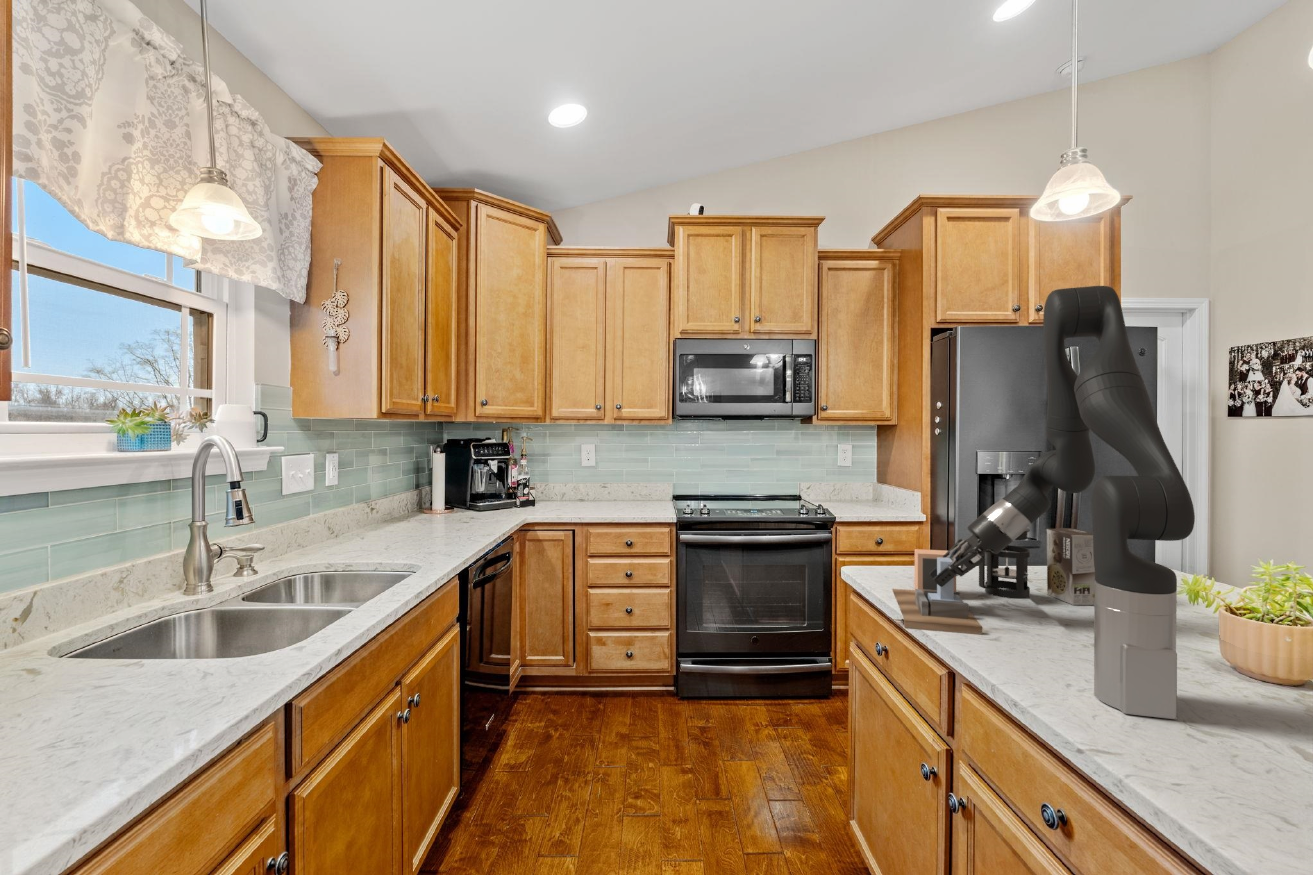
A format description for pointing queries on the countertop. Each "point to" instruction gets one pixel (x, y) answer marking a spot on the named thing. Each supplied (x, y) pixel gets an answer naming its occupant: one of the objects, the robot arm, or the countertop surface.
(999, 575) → the french press
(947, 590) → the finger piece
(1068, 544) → the coffee box
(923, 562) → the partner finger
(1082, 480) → the robot arm
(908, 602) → the rail
